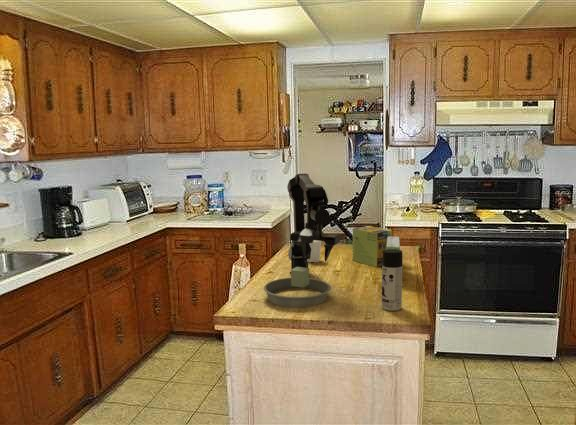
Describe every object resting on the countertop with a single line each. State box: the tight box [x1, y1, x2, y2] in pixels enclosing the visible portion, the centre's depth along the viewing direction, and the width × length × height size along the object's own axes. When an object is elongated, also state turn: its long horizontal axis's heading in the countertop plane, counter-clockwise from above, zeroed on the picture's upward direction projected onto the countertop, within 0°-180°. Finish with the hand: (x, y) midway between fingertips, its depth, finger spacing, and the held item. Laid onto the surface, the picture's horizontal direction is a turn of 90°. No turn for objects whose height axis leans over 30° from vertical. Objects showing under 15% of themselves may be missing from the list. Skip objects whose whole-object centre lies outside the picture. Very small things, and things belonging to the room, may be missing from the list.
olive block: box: [290, 267, 310, 288], centre depth 187 cm, size 5×5×6 cm
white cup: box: [307, 240, 322, 263], centre depth 238 cm, size 8×8×10 cm
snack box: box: [386, 236, 401, 250], centre depth 210 cm, size 21×6×15 cm, turn 168°
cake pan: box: [263, 277, 332, 308], centre depth 186 cm, size 25×25×4 cm
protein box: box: [352, 225, 393, 267], centre depth 234 cm, size 10×15×16 cm
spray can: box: [381, 249, 403, 312], centre depth 171 cm, size 7×7×20 cm
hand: (314, 259), depth 194 cm, fingers open, 9 cm apart
